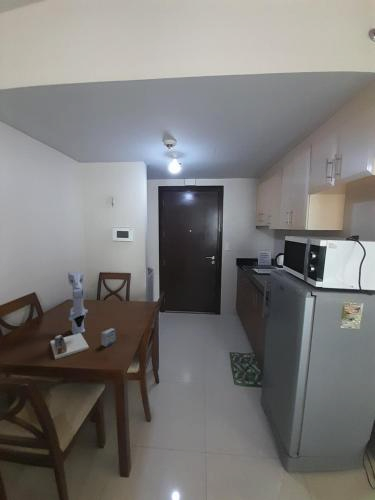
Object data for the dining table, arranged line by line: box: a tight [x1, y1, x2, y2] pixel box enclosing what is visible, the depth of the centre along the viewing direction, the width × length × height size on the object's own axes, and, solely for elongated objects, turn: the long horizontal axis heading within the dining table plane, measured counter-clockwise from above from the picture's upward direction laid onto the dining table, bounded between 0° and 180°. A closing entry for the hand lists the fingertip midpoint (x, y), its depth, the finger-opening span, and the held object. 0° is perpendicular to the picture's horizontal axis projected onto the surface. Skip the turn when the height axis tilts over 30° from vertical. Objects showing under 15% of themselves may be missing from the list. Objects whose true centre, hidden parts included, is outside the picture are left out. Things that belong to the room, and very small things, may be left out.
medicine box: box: [100, 327, 117, 347], centre depth 140 cm, size 8×4×9 cm, turn 151°
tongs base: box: [53, 338, 62, 354], centre depth 133 cm, size 17×5×3 cm, turn 38°
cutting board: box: [50, 333, 90, 360], centre depth 137 cm, size 22×18×2 cm
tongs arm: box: [54, 334, 67, 352], centre depth 133 cm, size 16×4×4 cm, turn 37°
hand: (79, 326), depth 144 cm, fingers closed
